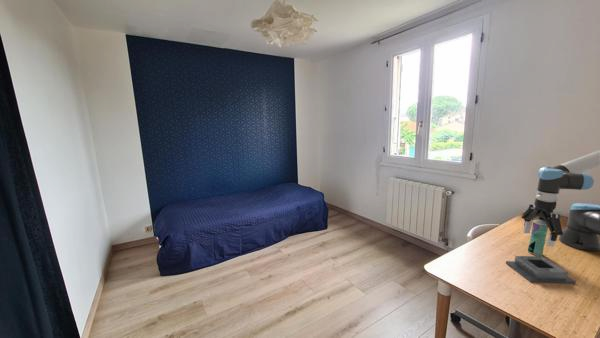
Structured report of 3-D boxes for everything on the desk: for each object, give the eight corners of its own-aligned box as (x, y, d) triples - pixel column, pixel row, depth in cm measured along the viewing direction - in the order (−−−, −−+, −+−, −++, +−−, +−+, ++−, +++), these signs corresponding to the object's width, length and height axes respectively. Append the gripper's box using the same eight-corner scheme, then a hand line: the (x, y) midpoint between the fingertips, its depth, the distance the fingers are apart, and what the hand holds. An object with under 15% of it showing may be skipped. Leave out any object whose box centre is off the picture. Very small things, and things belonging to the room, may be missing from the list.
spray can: (539, 251, 127) (546, 215, 123) (544, 256, 123) (552, 219, 118) (525, 249, 130) (532, 214, 125) (530, 254, 125) (537, 218, 121)
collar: (545, 263, 117) (547, 255, 116) (575, 283, 103) (578, 274, 102) (505, 262, 118) (507, 254, 117) (530, 282, 104) (532, 272, 103)
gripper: (517, 192, 132) (510, 228, 137) (562, 209, 108) (552, 252, 113) (532, 192, 132) (525, 228, 136) (580, 209, 108) (570, 252, 112)
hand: (537, 239), depth 125 cm, fingers open, 13 cm apart
